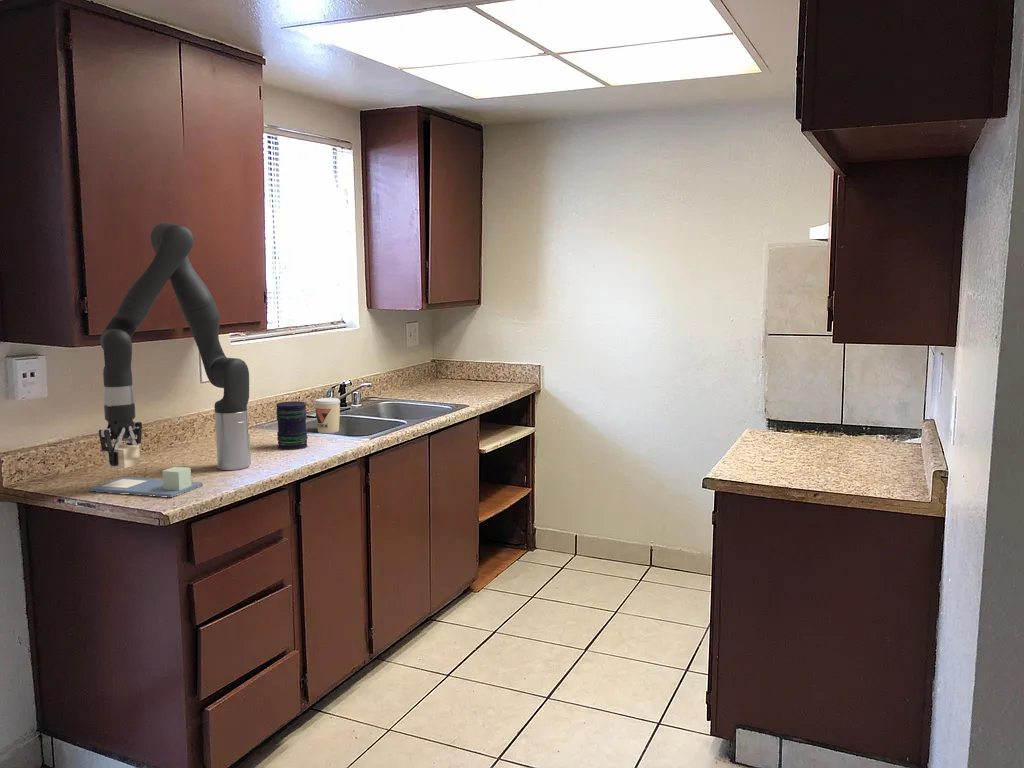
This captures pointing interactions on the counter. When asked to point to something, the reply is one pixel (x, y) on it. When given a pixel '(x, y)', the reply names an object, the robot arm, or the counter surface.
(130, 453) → the maple block
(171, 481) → the sage block
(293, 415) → the storage jar
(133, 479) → the board
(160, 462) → the counter surface
